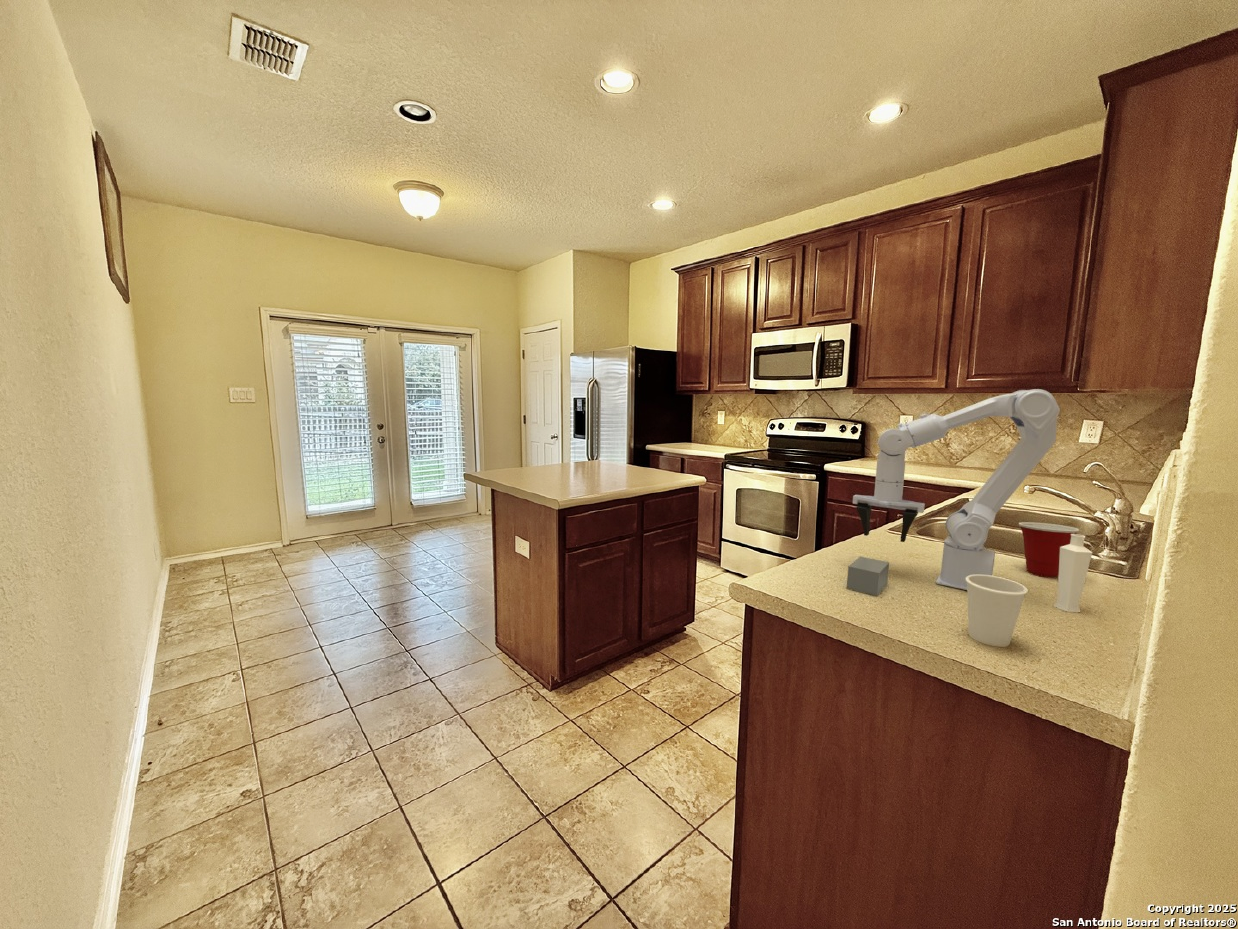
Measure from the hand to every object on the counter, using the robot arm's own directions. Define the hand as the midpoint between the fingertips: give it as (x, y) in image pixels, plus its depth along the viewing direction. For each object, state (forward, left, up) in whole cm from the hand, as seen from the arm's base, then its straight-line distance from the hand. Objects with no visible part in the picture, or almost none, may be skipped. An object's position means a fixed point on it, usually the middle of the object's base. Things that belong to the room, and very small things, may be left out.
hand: (884, 537), depth 114 cm
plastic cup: (-29, -26, -9) cm, 40 cm away
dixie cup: (-22, +23, -9) cm, 33 cm away
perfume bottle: (-33, -3, -9) cm, 34 cm away
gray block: (0, +12, -8) cm, 15 cm away
